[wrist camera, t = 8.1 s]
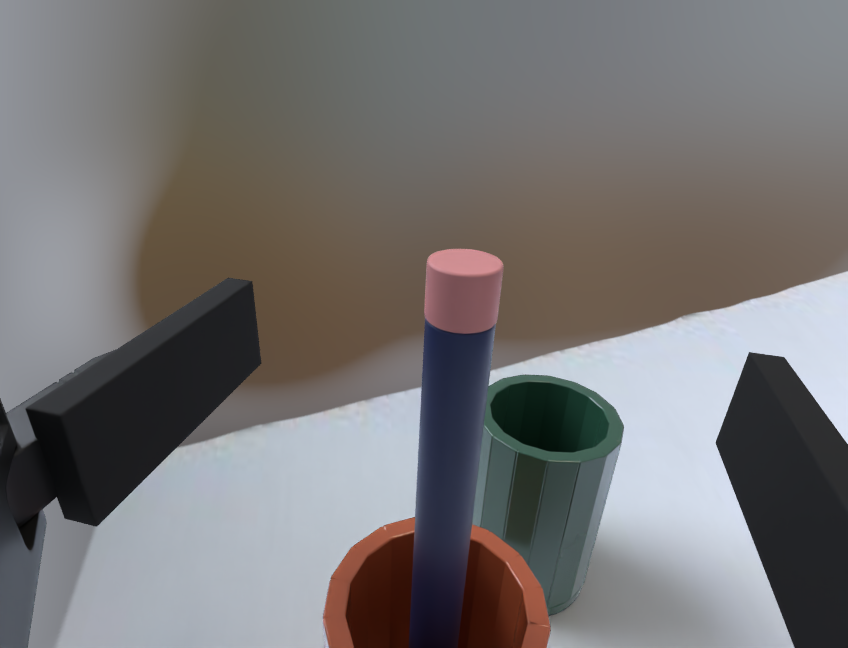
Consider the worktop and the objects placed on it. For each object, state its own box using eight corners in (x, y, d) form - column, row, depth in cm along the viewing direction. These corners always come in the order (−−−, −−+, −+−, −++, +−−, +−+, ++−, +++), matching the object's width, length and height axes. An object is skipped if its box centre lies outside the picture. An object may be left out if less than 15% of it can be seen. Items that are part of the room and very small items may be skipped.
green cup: (443, 586, 25) (457, 433, 21) (482, 500, 30) (499, 362, 26) (572, 639, 23) (615, 481, 19) (591, 537, 28) (629, 395, 24)
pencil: (394, 774, 18) (415, 264, 10) (412, 730, 19) (443, 243, 11) (434, 796, 17) (490, 280, 9) (450, 750, 19) (512, 255, 10)
